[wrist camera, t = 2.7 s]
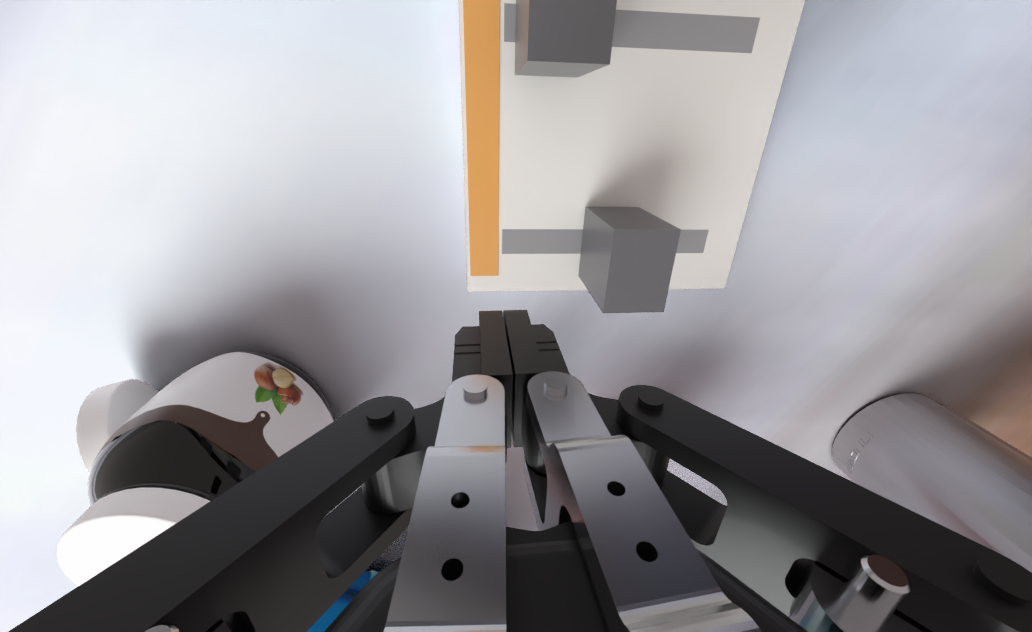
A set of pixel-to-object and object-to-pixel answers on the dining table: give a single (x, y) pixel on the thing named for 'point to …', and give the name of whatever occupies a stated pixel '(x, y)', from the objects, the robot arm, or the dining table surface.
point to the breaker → (563, 36)
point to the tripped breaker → (627, 258)
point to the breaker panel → (618, 136)
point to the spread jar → (180, 448)
